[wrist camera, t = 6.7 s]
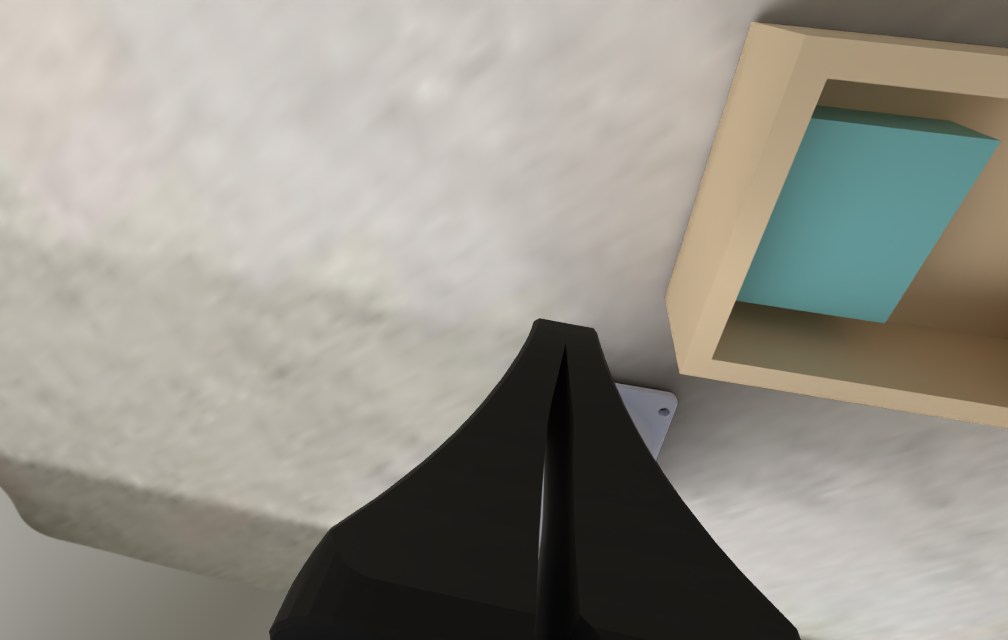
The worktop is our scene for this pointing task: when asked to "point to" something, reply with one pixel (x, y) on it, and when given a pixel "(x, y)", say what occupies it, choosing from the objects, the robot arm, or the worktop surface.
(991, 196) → the lidded box
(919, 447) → the worktop surface
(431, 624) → the robot arm
